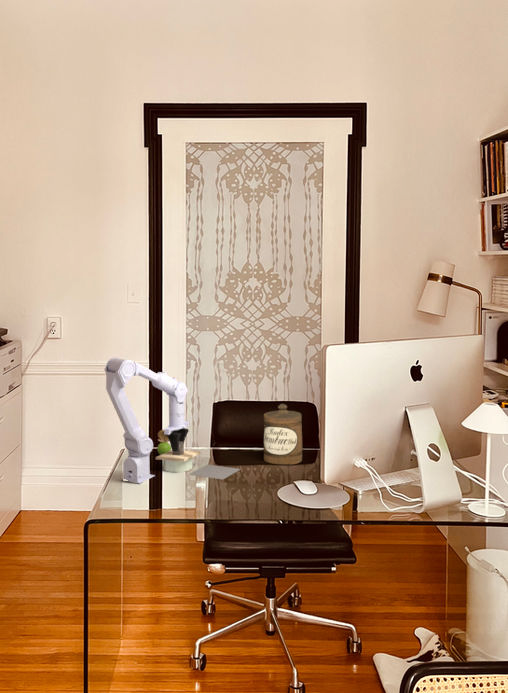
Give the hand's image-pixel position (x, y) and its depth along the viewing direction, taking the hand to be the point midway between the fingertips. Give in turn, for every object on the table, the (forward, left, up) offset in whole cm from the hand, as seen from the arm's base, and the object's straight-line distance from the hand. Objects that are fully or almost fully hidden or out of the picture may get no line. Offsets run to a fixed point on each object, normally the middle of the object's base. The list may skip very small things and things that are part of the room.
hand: (177, 449), depth 262 cm
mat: (+2, -15, -8) cm, 17 cm away
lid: (0, 0, -2) cm, 3 cm away
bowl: (0, 0, -8) cm, 8 cm away
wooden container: (+28, -31, -8) cm, 42 cm away
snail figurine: (+15, +14, -8) cm, 22 cm away
